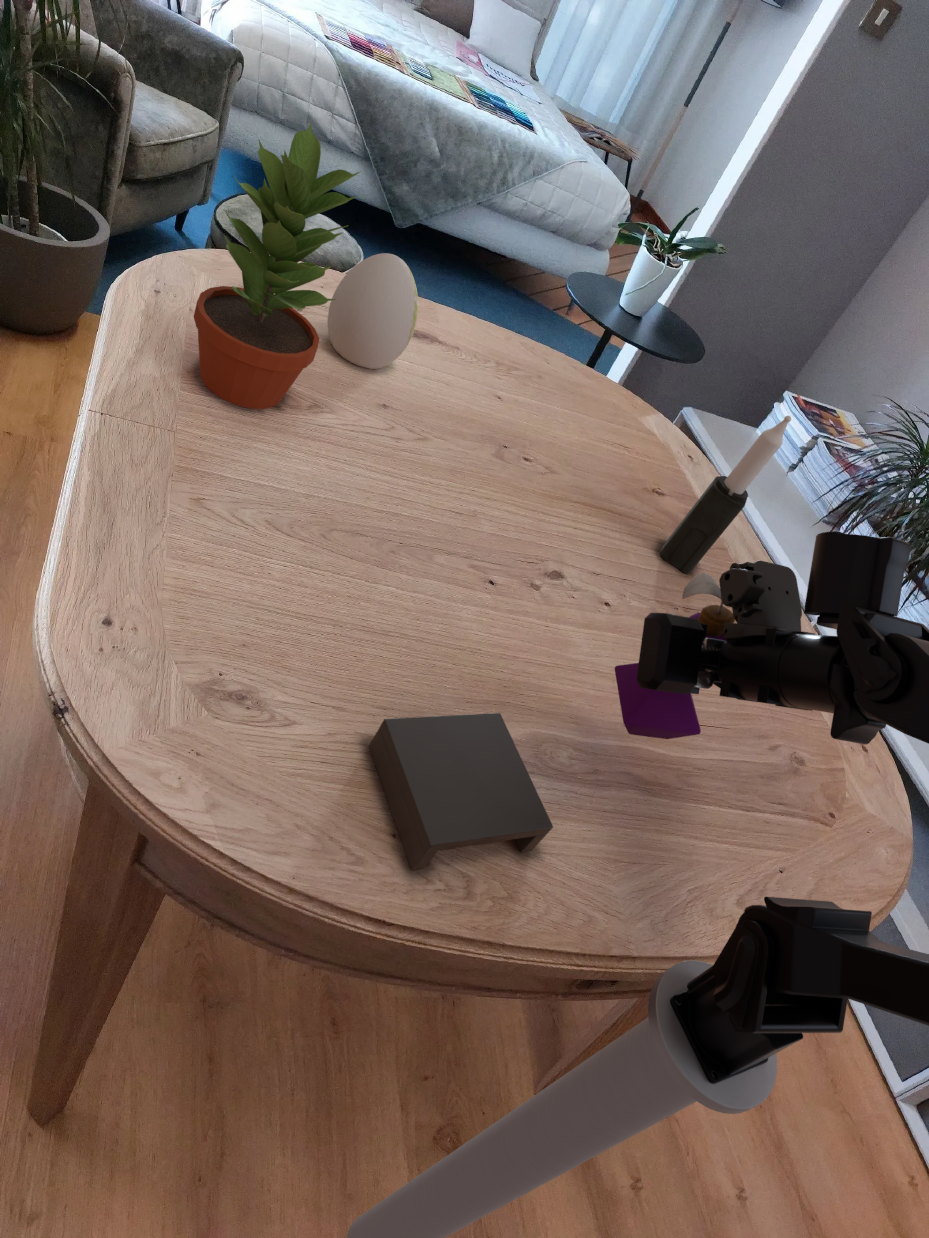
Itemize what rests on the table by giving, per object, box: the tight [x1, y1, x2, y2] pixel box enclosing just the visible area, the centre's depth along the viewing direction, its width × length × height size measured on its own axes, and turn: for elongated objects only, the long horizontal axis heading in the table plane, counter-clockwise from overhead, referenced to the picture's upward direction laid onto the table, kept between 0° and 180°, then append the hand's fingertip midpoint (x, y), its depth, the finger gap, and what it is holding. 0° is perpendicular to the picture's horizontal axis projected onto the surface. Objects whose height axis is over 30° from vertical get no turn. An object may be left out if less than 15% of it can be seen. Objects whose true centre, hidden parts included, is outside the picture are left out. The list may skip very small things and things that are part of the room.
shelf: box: [368, 712, 554, 871], centre depth 72 cm, size 12×12×4 cm
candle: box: [659, 415, 792, 575], centre depth 113 cm, size 5×5×25 cm
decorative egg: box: [327, 252, 419, 370], centre depth 118 cm, size 12×12×15 cm
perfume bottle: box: [614, 572, 736, 740], centre depth 77 cm, size 8×8×18 cm
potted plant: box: [193, 122, 362, 410], centre depth 95 cm, size 15×15×30 cm
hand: (670, 656), depth 79 cm, fingers closed on perfume bottle, 3 cm apart
